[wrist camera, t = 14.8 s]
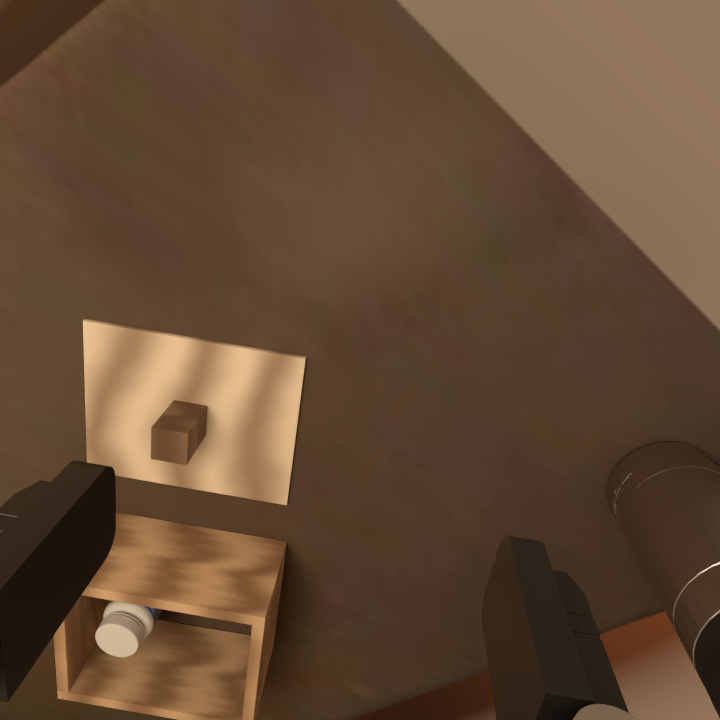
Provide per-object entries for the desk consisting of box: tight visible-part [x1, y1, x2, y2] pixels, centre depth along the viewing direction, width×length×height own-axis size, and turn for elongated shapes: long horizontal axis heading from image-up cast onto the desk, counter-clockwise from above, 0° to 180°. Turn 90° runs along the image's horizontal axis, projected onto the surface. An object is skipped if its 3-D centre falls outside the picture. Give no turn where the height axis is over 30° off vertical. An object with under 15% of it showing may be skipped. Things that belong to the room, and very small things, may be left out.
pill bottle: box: [95, 600, 163, 657], centre depth 56 cm, size 5×5×8 cm
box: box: [54, 512, 287, 720], centre depth 56 cm, size 18×14×10 cm
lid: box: [83, 319, 306, 505], centre depth 51 cm, size 19×15×6 cm
